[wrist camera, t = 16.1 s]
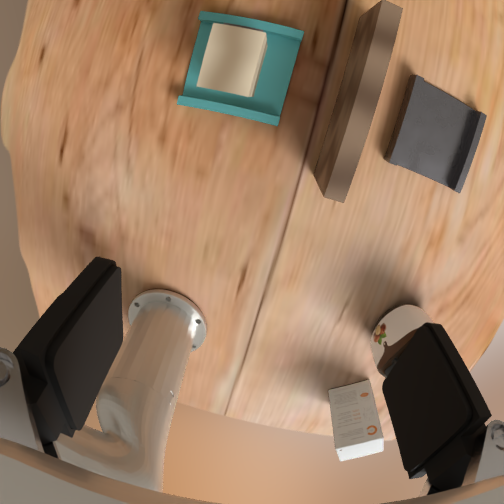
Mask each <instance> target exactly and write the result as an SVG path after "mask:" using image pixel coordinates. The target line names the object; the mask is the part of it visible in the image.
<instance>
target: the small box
mask: <svg viewBox="0 0 504 504" xmlns="http://www.w3.org/2000/svg"><path fill="white" fill-rule="evenodd" d="M328 392H329V401H330V410H331V418H332V426H333V434H334V443H335V450H336V451H337V454H338V457H339V459H340V461H344V460H348V459H353V458H358V457H362V456H366V455H370V454H373V453H378V452H381V451H383V449H384V446H383V445H384V437H383V433H382V429H381V424H380V420H379V416H378V411H377V407H376V403H375V398H374V394H373V390H372V387H371V383H370V380H366V381H362V382H358V383H355V384H351V385H347V386H343V387H339V388H335V389H330V390H328Z"/></svg>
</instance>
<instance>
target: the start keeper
mask: <svg viewBox="0 0 504 504" xmlns="http://www.w3.org/2000/svg"><path fill="white" fill-rule="evenodd" d="M486 116H487V115H485V114H484V113H482V112H479V111H475V110H473V109H472V108H470V107H468V106H467V105H465V104H464V103H462V102H460V101H459V100H457V99H455V98H454V97H452V96H450V95H448V94H447V93H445V92H443V91H441V90H439V89H438V88H436V87H434V86H432V85H430V84H428V83H426V82H424V78H422V77H420V76H418V75H410V79H409V82H408V86H407V89H406V93H405V96H404V100H403V103H402V106H401V109H400V113H399V116H398V119H397V122H396V125H395V128H394V132H393V135H392V138H391V141H390V144H389V147H388V150H387V152H386V155H385V158H384V160H386V161H387V162H389V163H391V164H394V165H396V166H397V165H399V166H402V167H404V168H407V169H409V170H411V171H414V172H416V173H419V174H421V175H423V176H425V177H428V178H430V179H432V180H434V181H437V182H439V183H441V184H443V185H445V186H448V187H449V188H451V189H452V190H454V191H456V192H458V193H460V192H461V190H462V187H463V185H464V182H465V179H466V177H467V174H468V172H469V169H470V166H471V163H472V160H473V158H474V155H475V152H476V149H477V146H478V143H479V140H480V137H481V133H482V130H483V127H484V123H485V120H486Z"/></svg>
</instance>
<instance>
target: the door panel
mask: <svg viewBox="0 0 504 504" xmlns="http://www.w3.org/2000/svg"><path fill="white" fill-rule="evenodd" d="M402 10H403V8H401V7H399V6H397V5H395V4H392V3H390V2H388V1H386V0H381V1H380V2H378V3H377V4H376V5H375V6H373V7H372V8H371V9H370V10H368V11H367V12H366V13H365V14H363V15H362V16H361V17H360V19H359V23H358V27H357V30H356V34H355V38H354V41H353V45H352V49H351V52H350V56H349V59H348V63H347V66H346V70H345V73H344V77H343V80H342V84H341V87H340V91H339V94H338V97H337V101H336V104H335V107H334V111H333V114H332V117H331V121H330V124H329V127H328V131H327V134H326V137H325V140H324V143H323V147H322V150H321V153H320V156H319V159H318V163H317V166H316V169H315V172H314V177H315V179H316V181H317V184H318V186H319V188H320V190H321V192H322V194H323V196H324V197H325V198H329V199H332V200H335V201H338V202H342V203H344V201H345V199H346V196H347V193H348V190H349V188H350V185H351V182H352V179H353V176H354V174H355V171H356V168H357V165H358V162H359V159H360V156H361V153H362V150H363V147H364V144H365V141H366V138H367V135H368V132H369V129H370V126H371V122H372V119H373V116H374V113H375V110H376V106H377V103H378V100H379V96H380V93H381V90H382V86H383V83H384V79H385V76H386V72H387V69H388V65H389V61H390V58H391V54H392V50H393V46H394V43H395V39H396V35H397V31H398V27H399V23H400V18H401V14H402Z"/></svg>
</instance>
